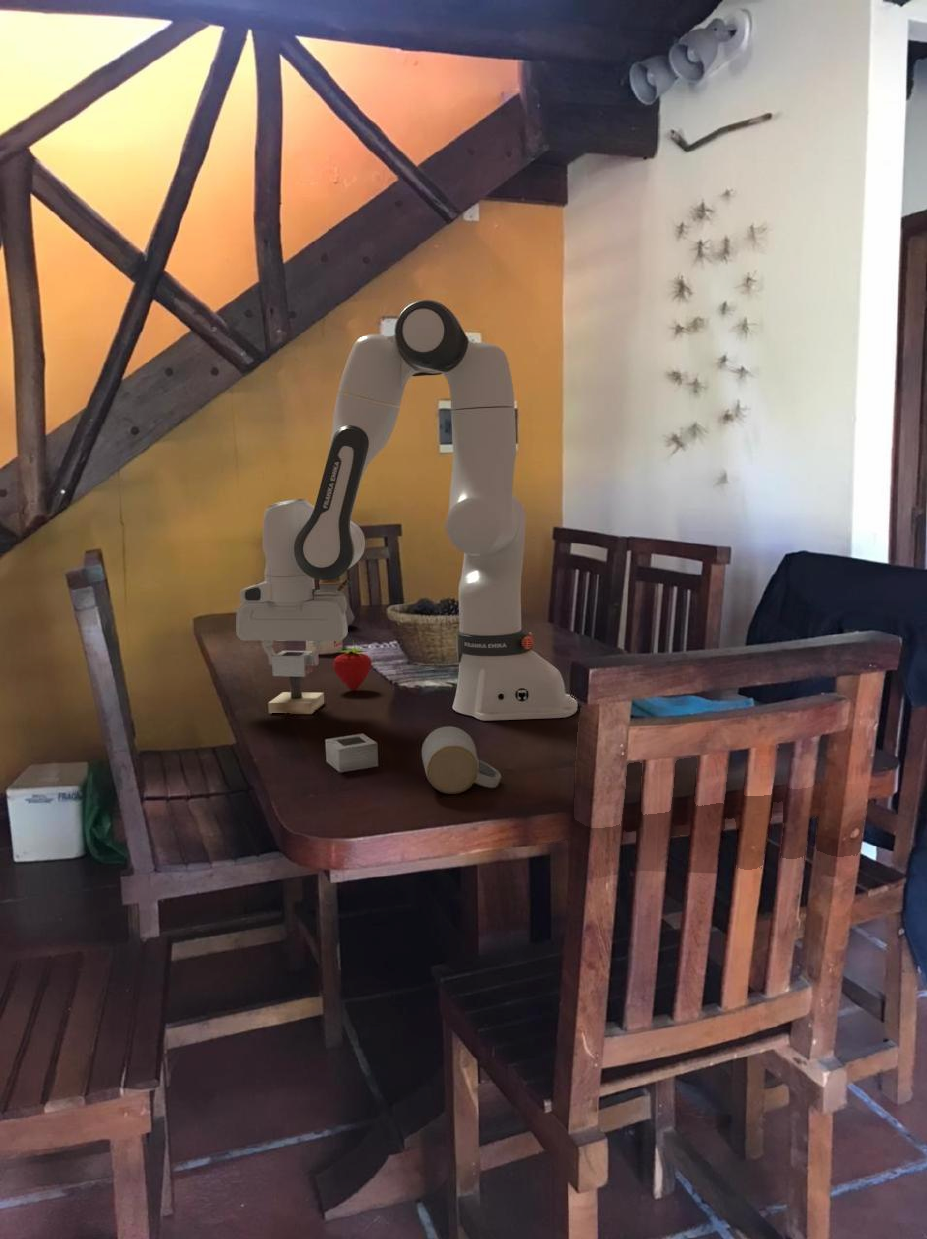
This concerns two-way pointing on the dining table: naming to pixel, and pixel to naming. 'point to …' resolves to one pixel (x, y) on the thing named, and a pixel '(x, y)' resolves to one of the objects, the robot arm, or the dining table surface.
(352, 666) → the strawberry
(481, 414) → the robot arm
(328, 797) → the dining table surface
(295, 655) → the end link
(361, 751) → the white square box
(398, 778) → the dining table surface
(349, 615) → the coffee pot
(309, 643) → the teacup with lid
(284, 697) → the block
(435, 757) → the ceramic mug
